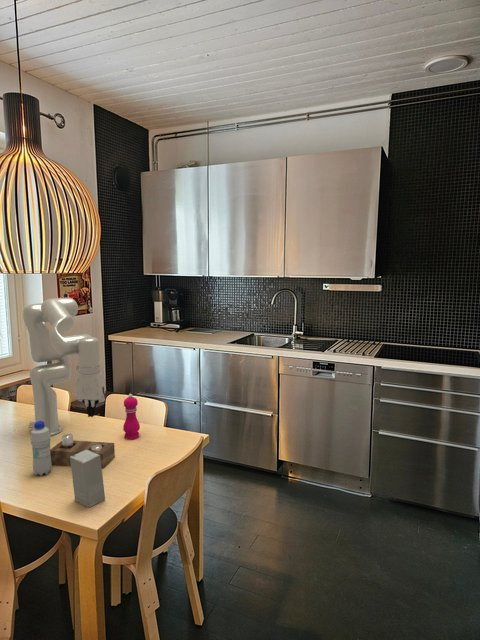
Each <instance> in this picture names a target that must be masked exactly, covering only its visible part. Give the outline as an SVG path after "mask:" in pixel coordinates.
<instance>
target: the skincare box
mask: <svg viewBox="0 0 480 640" xmlns="http://www.w3.org/2000/svg"><path fill="white" fill-rule="evenodd" d="M70 463H71V467H70V470H71V478H72V485H73V486H72V487H73V493H74V494H73V495H74V501H75V502H78V503H79V504H81V505H83V506H84V507H87V508H91V507H93V506H95V505H97V504H98V503H101V502H104V501H105V500H106V496H105V494H106V493H105V486H104V478H103V469H102V467H101V459H100V455H98V454H96V453H94V452H91V451H89V450H85V451H82V452H80V453H78V454H75V455H73V456H71V457H70Z"/></svg>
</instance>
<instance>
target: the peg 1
mask: <svg viewBox="0 0 480 640" xmlns="http://www.w3.org/2000/svg"><path fill="white" fill-rule="evenodd" d="M73 440H74V435H73V434H71V433H65V434H63V435H62V436H61V441H62V447H63V448H66V449H71V448H72V447H73Z"/></svg>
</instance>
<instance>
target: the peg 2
mask: <svg viewBox="0 0 480 640" xmlns="http://www.w3.org/2000/svg"><path fill="white" fill-rule="evenodd" d="M101 449H102V445H100V444H96V445H93V446H91V450H97V451H100V450H101Z"/></svg>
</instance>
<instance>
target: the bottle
mask: <svg viewBox="0 0 480 640" xmlns="http://www.w3.org/2000/svg"><path fill="white" fill-rule="evenodd" d="M34 427H35V429H34V428H32V430H31V431H30V444H31V450H32V470H33V473H34V475H35V476H37V475H38V476H40V477H42V476H43V474H44V475H46V474H47V475H49V473H51V471H52V468H53V467H52V466H53V465H52V463H51V456H50V449H51V444H50V443H51V437H52V436H50V432H49V428H47V427H45V424H44V422H43V421H38V422H36V423H35V424H34ZM48 472H49V473H48Z"/></svg>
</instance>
